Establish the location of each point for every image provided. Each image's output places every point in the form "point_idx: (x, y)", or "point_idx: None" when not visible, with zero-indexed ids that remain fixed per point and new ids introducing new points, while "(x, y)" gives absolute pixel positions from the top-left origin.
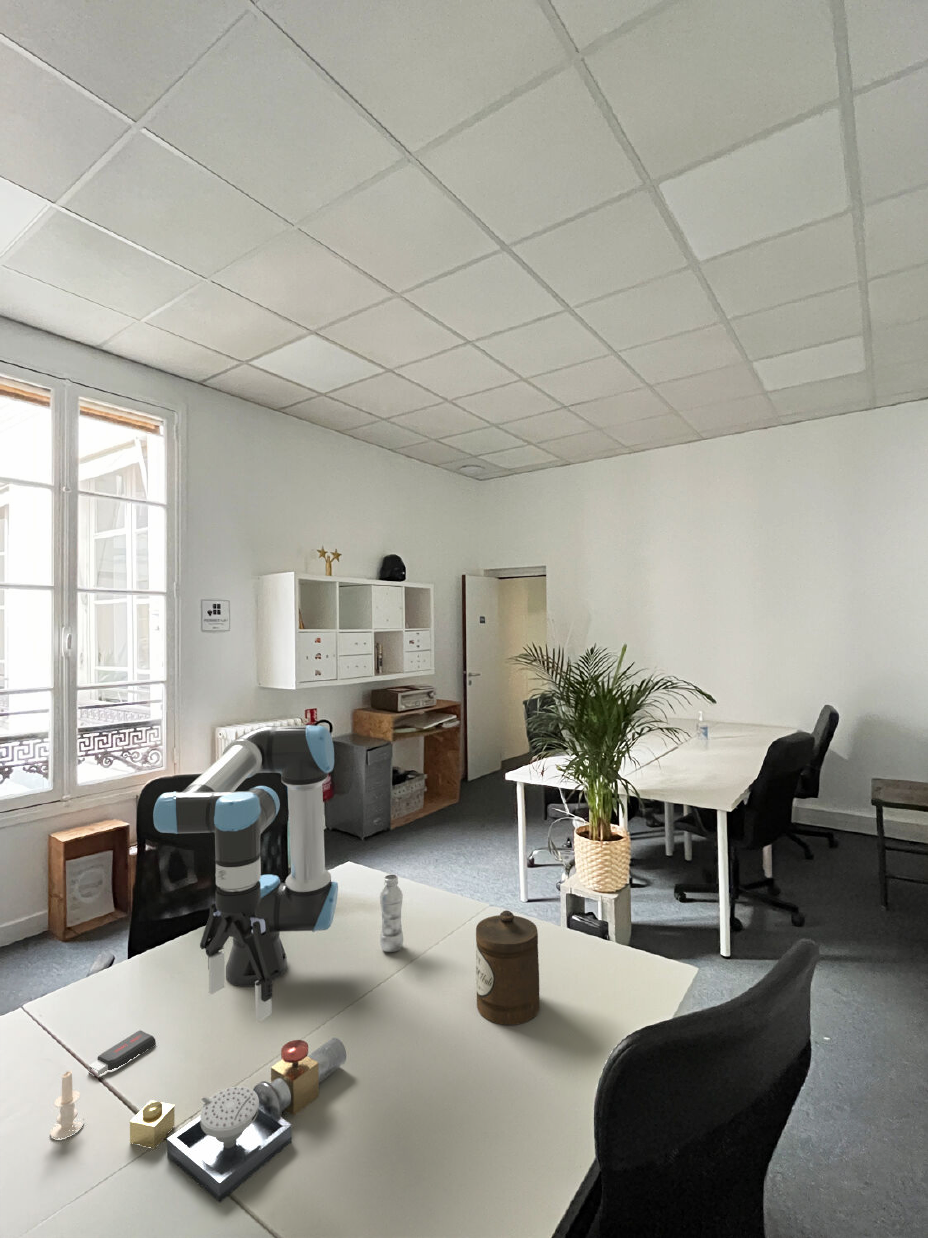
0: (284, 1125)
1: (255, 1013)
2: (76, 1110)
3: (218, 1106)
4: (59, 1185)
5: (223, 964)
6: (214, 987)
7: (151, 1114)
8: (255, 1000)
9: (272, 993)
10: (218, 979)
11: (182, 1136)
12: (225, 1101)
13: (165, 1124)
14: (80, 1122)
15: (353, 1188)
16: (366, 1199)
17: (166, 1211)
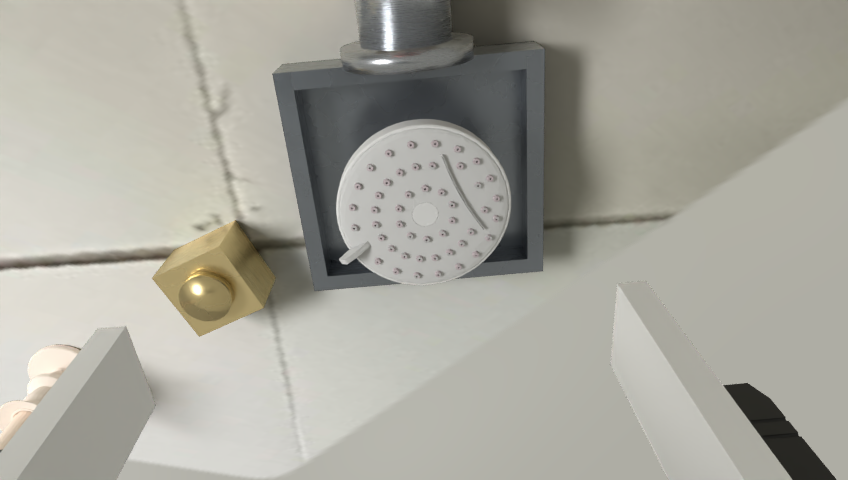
0: (530, 66)
1: (626, 394)
2: (44, 378)
3: (403, 239)
4: (234, 418)
5: (37, 464)
6: (134, 413)
7: (226, 309)
8: (660, 460)
9: (778, 410)
10: (105, 418)
11: (325, 256)
12: (400, 216)
13: (246, 262)
14: (69, 357)
15: (791, 22)
16: (842, 21)
17: (459, 321)
